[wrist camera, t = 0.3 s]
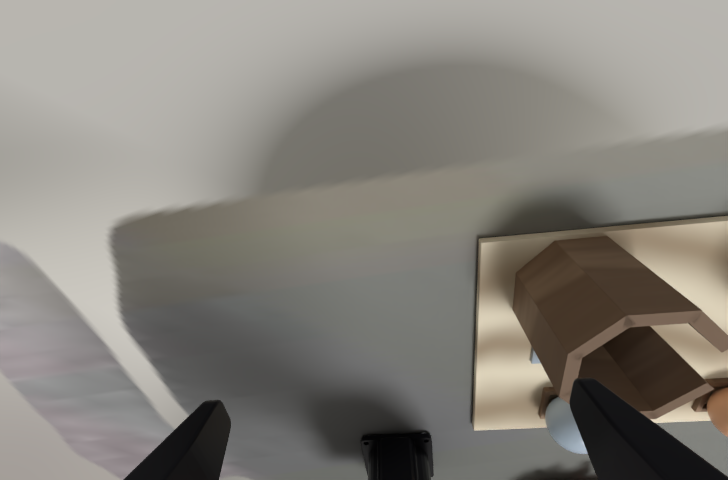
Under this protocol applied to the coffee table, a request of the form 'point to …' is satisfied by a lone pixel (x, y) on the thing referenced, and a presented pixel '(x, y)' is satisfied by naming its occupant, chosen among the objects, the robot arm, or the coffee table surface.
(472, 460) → the coffee table surface
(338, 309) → the coffee table surface
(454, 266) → the coffee table surface
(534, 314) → the cream wooden tray
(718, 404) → the terracotta ball
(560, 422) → the slate-blue ball
